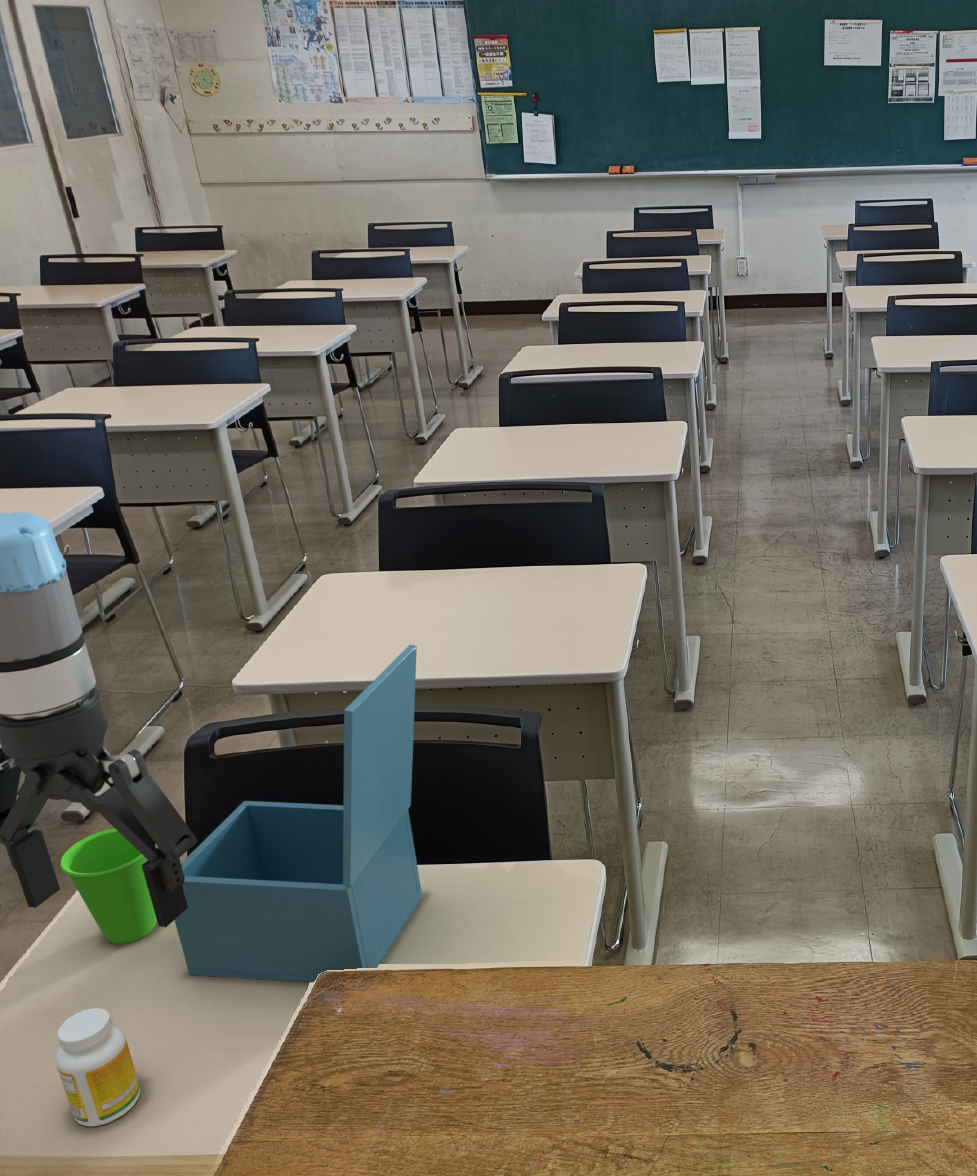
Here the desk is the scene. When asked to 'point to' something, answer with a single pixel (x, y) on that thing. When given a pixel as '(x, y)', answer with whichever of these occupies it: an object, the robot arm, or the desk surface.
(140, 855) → the cup
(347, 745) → the lid
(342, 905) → the chest
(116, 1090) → the supplement bottle
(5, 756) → the robot arm
